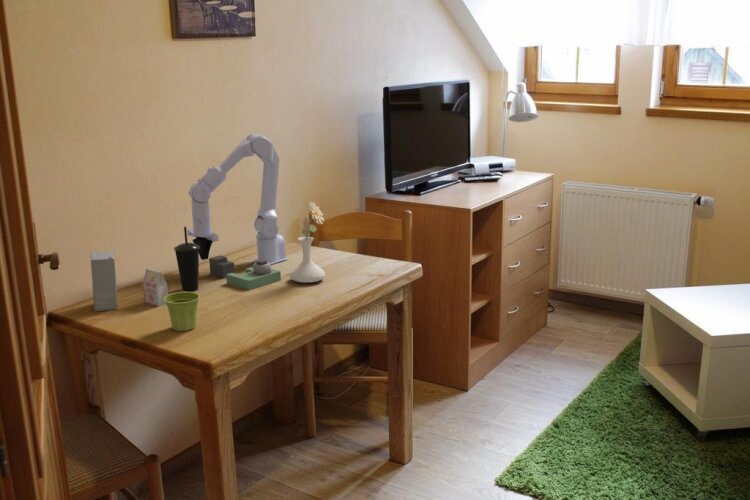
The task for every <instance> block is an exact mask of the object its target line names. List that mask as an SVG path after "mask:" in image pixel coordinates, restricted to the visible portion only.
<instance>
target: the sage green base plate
mask: <svg viewBox="0 0 750 500" xmlns="http://www.w3.org/2000/svg"><path fill="white" fill-rule="evenodd" d="M281 274H282V273H281V270H279V269H274V268H272V264H271V263H270V262H267V261H266V260H259V261H256V262H253V264H252V266H250V267H247V268H245V273H242V274H239V273H235V272H234V273H229V274H226V277H227V278H226V284H228V285H231V286H235V287H238V288H240V289H241V288H242V289H244V290H248V291H251V290H253V289H256V288H260V287H264V286H266V285H270V284H273V283H277V282H279V281H281V280H282V277H281Z"/></svg>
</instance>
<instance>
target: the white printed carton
mask: <svg viewBox="0 0 750 500" xmlns="http://www.w3.org/2000/svg"><path fill="white" fill-rule="evenodd" d="M168 287H169V286H168V283H167V282H166V280H165V278H164V276H163V274H162V272H160V271H157V270H154V269H148V268H145V274H144V277H143V281H142V289H143V300H144V304H147V305H152V306H154V307H158V308H160V307H163V306H167V305H166V302H165V301H164V297H165V296H167V295H169V288H168Z"/></svg>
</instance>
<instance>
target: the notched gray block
mask: <svg viewBox="0 0 750 500" xmlns="http://www.w3.org/2000/svg"><path fill="white" fill-rule="evenodd" d="M208 260H209V270H210V271H209V273H210V275H211V276H213V277H218V278H221V279H227V277H226V274H229V273H235V262H233V261H229V260H228V256H224V255H220V254H219V255H217V256H212V257H208Z"/></svg>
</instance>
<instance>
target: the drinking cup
mask: <svg viewBox="0 0 750 500" xmlns="http://www.w3.org/2000/svg"><path fill="white" fill-rule="evenodd" d="M187 230H188V229H187V226H184V227H183V232H184V242H182V243H180V244H178V245H176V246H174V247H173V250H174V251H175V257H176V262H177V268H178V273H179V278H180V283H181V284H180V285H181V289H182V292H195V291H198V290H199V277H198V275H199V276H200V272H199V267H200V266H199V265H200V264H199V263H200V262H199V260H200V259H199V258H200V255H199V248H200V246H199V245H197V244H194V243H193V242H188V233H187Z"/></svg>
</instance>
